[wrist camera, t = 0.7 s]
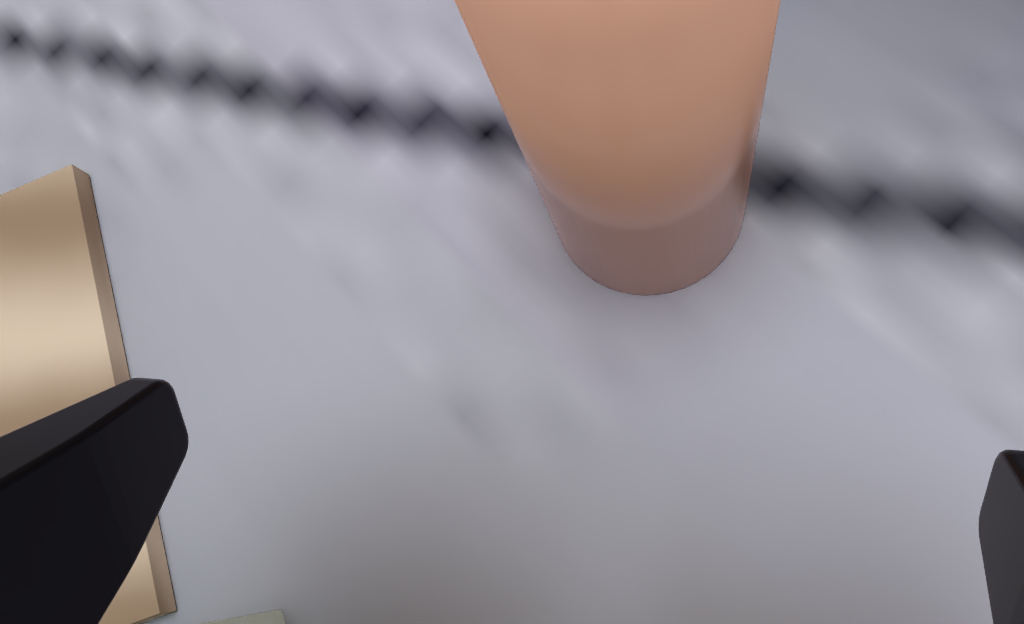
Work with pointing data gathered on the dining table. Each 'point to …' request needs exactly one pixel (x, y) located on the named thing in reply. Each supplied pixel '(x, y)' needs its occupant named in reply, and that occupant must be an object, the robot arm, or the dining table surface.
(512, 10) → the tan tapered rounded cylinder
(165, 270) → the dining table surface
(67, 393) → the plate
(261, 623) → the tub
